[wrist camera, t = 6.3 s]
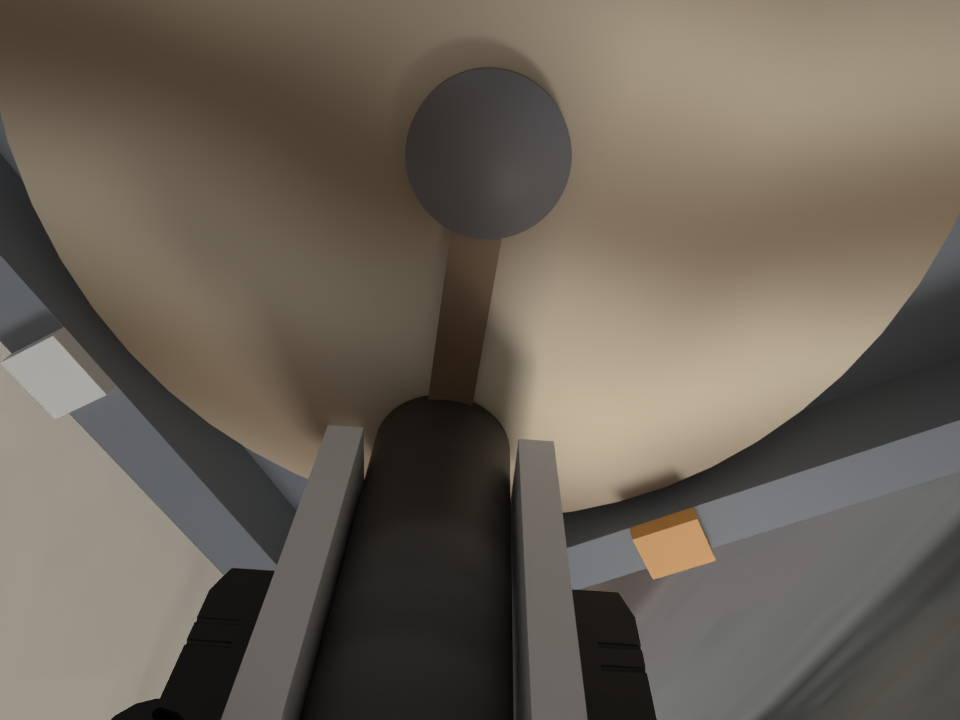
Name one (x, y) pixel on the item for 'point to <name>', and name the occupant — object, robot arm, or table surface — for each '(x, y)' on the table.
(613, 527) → the dial frame
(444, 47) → the dial
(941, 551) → the table surface
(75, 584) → the table surface
